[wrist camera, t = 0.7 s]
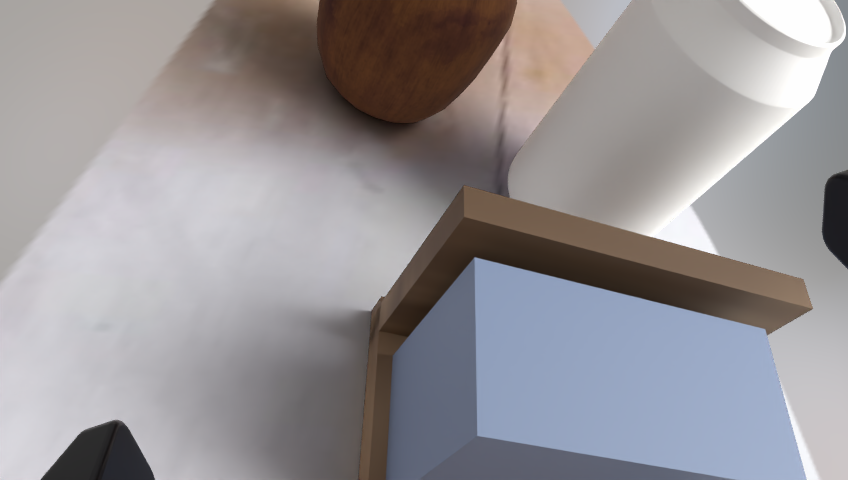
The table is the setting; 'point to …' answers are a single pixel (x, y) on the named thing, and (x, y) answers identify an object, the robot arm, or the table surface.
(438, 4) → the wooden figurine
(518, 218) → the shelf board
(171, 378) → the table surface
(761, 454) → the pale blue box
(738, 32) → the beverage can
